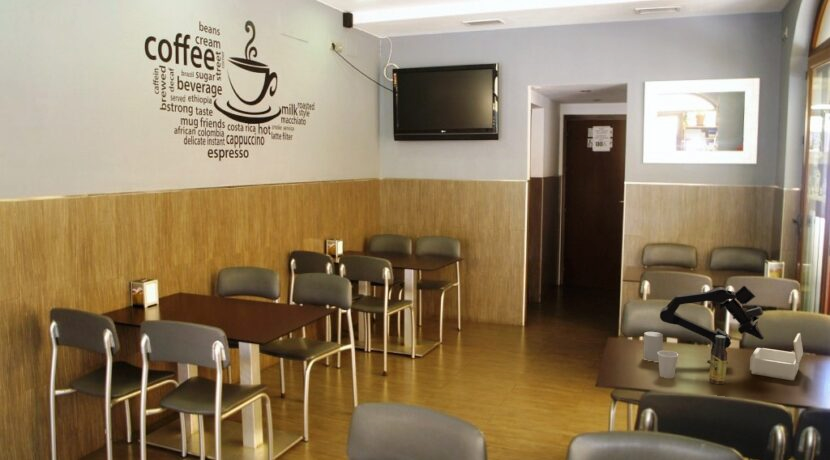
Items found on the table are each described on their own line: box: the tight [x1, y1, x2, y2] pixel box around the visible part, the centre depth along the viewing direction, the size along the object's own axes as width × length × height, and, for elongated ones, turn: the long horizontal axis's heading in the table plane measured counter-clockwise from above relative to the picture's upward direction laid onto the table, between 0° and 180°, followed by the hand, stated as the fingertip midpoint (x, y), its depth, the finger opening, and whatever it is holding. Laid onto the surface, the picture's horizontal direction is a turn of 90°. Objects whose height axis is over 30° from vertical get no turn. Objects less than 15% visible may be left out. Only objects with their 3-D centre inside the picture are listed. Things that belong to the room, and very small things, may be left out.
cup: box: [642, 331, 664, 361], centre depth 313 cm, size 8×8×12 cm
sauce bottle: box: [708, 335, 728, 385], centre depth 282 cm, size 6×6×20 cm
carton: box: [749, 347, 800, 381], centre depth 297 cm, size 17×20×7 cm
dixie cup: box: [658, 350, 679, 379], centre depth 290 cm, size 8×8×10 cm
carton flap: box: [792, 332, 804, 364], centre depth 291 cm, size 9×17×1 cm
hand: (762, 339), depth 299 cm, fingers closed
